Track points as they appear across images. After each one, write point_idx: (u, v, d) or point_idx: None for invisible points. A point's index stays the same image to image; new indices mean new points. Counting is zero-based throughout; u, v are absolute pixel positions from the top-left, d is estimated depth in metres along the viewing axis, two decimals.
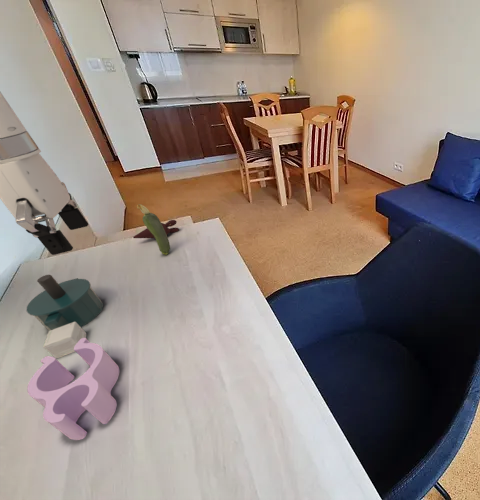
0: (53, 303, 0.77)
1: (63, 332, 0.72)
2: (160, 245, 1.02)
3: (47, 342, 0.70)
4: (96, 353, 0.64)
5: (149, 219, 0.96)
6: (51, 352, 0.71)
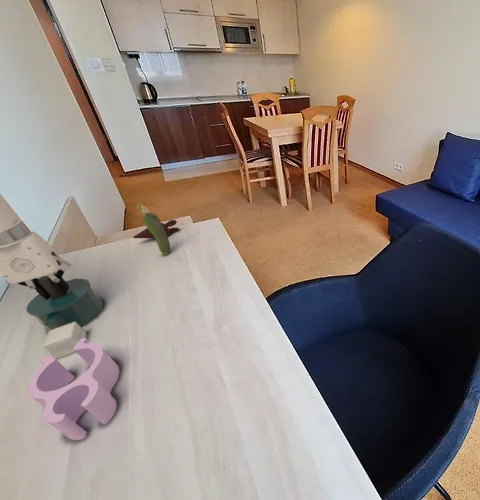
0: (53, 303, 0.77)
1: (63, 332, 0.72)
2: (160, 245, 1.02)
3: (47, 342, 0.70)
4: (96, 353, 0.64)
5: (149, 219, 0.96)
6: (51, 352, 0.71)
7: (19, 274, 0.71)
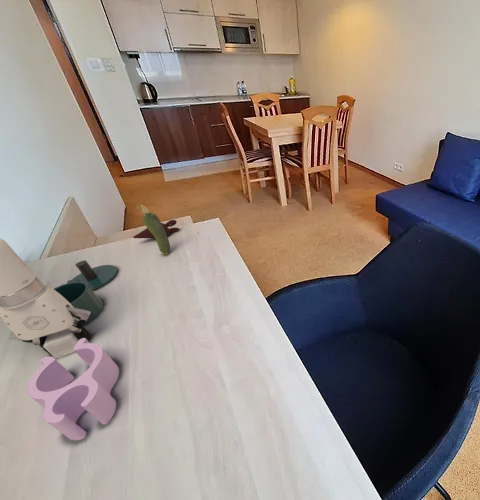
0: None
1: (63, 332, 0.72)
2: (160, 245, 1.02)
3: (47, 342, 0.70)
4: (96, 353, 0.64)
5: (149, 219, 0.96)
6: (51, 352, 0.71)
7: (33, 331, 0.67)
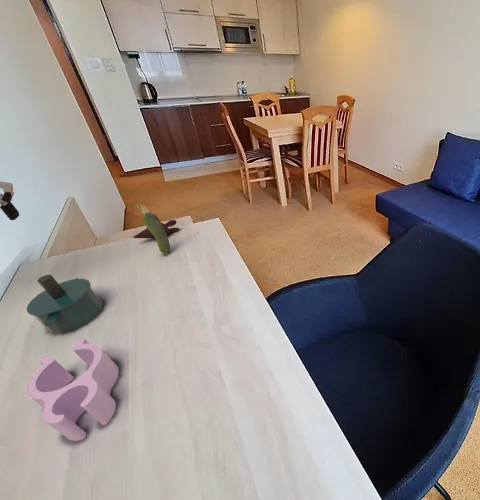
0: (53, 303, 0.77)
1: None
2: (160, 245, 1.02)
3: None
4: (95, 353, 0.64)
5: (149, 219, 0.96)
6: None
7: None
